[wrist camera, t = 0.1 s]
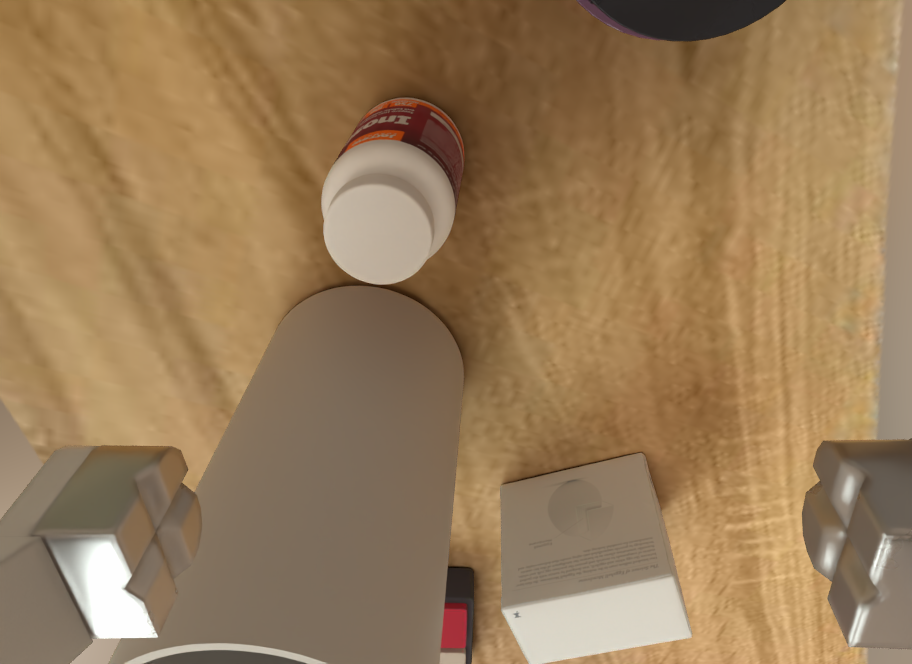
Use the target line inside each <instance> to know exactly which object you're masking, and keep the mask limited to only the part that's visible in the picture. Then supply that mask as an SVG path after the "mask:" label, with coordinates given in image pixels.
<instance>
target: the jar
mask: <svg viewBox="0 0 912 664" xmlns="http://www.w3.org/2000/svg"><path fill="white" fill-rule="evenodd" d="M576 1H577V2H578V3H579V4H580V5H581V6H582V7H583V8H584V9H586V10H587V11H588V12H589V13H590V14H591V15H592V16H594V17H595V18H597V19H598V20H600V21H601V22H603V23H604V24H606V25H608V26H610V27H612V28H614V29H616V30H618V31H620V32H623V33H626V34H629V35H632V36H636V37H639V38H645V39H652V40H661V39H654V38H650V37H648V36H644V35H641V34H638V33H636V32H633V31H631V30H629V29H627V28H625V27H623V26H621V25H620V24H618V23H617V22H615V21H614V20H612V19H611V18H609V17H608V16H606V15H605V14H604V13H603V12H602V11H601V10H600V9H599V8H598V7H596V6H595V5H594V4H591V3H590V2H589V0H576Z"/></svg>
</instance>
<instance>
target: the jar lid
mask: <svg viewBox="0 0 912 664" xmlns="http://www.w3.org/2000/svg"><path fill="white" fill-rule="evenodd" d="M785 1H786V0H589V2H590V3H591V4H594V5H595V6H596V7H598V8H599V9H600V10H601V11H602V12H603V13H604V14H605V15H606V16H608V17H609V18H611V19H612V20H614V21H615V22H617V23H618V24H620V25H621V26H623V27H625V28H627V29H629V30H631V31H633V32H636V33H638V34H641V35H644V36H648V37H650V38H654V39H661V40H667V41H697V40H706V39H711V38H715V37H719V36H722V35H726V34H729V33H731V32H734V31H737V30H739V29H742V28H744V27H746V26H748V25H750V24H752V23H754V22H756V21H757V20H759V19H761V18H763V17H764V16H766V15H767V14H769V13H770V12H772V11H773V10H775V9H776V8H778V7H779V6H780V5H781V4H783V3H784V2H785Z"/></svg>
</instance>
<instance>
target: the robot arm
mask: <svg viewBox="0 0 912 664" xmlns="http://www.w3.org/2000/svg"><path fill="white" fill-rule="evenodd" d="M813 467H814V469H815V471H816V473H817V475H818V477H819V479H820V481H819V482H818V483H817V484H816V485H815V486H813V487H812V488H811V489H810V490H809V491H807V492H806V496H805V501H804V505H803V510H802V524H803V537H804V541H805V545H806V549H807V552H808V555H809V557H810V559H811V562H812V564H813V567H814V569H816V570H817V571H818V572H820V573H821V574H822V575H824V576H825V577H826V578H828V579H829V580H830V581H832V584H831V588H830V591H829V595H828V598H827V599H828V601H829V603H830V606H831V608H832V610H833V612H834V615H835V617H836V619H837V621H838V624H839V626H840V628H841V630H842V633H843V635H844V637H845V639H846V642H847V644H848V646H849V647H865V648H890V649H891V648H892V649H912V438H911V439H909V440H904V439H903V440H836V441H823V442H822V443H821V445H820V446H819V448H818V449H817V452H816V455H815V459H814V463H813ZM187 471H188V467H187V465H186V462H185V460H184V457H183V454H182V452H181V450H179V449H177V448H174V447H172V446H106V445H102V446H64V447H62V448H60V449H58V450H56V451H54V453H53V454H52V455H51V456H50V458H49V459H48V460H47V461H46V463H45V464H44V465H43V466H42V468H41V469H40V470H39V471H38V473H37V474H36V476H35V477H34V478H33V479H32V480H31V482H30V483H29V484H28V485H27V487H26V488H25V489H24V490H23V492H22V493H21V494H20V496H19V497H18V498H17V499H16V501H15V502H14V503H13V504H12V506H11V507H10V508H9V510H8V511H7V512H6V513H5V515H4V516H3V517H2V518H1V520H0V664H70V663H71V662H72V661H73V660H74V659H75V658H76V657H77V656H78V655H80V654H81V653H82V652H83V651H84V650H85V649H86V648H87V647H88V646H89V645H90V644H92V642H93V641H92V638H93V639H97V638H158V637H159V634H160V632H161V630H162V628H163V626H164V624H165V621H166V619H167V617H168V615H169V613H170V611H171V608H172V606H173V604H174V602H175V600H176V598H177V595H178V591H177V588H176V585H175V582H174V580H173V579H174V578H176V577H177V576H178V575H179V574H181V573H182V572H183V571H185V570H186V569H187V568H188V567H190V566H191V565H192V562H193V560H194V558H195V555H196V553H197V551H198V548H199V544H200V538H201V532H202V526H203V525H202V514H201V507H200V504H199V501H198V497H197V495H196V494H195V493H194V492H193V491H191V490H190V489H189V488H188V487H187V486H185V485H184V484H183V483H182V481H183V479H184V477H185V475H186V473H187Z"/></svg>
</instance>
